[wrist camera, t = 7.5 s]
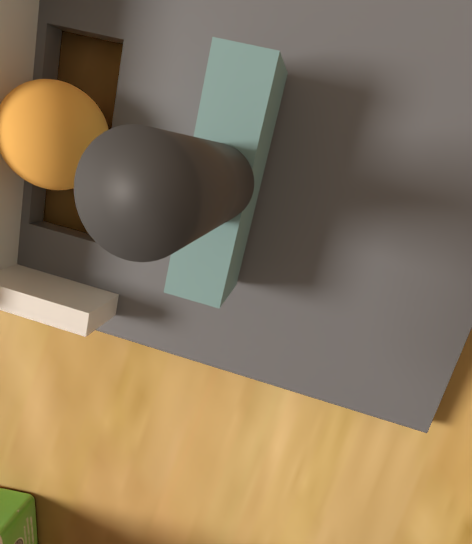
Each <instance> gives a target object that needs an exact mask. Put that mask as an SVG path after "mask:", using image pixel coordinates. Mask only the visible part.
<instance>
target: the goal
mask: <svg viewBox="0 0 472 544" xmlns="http://www.w3.org/2000/svg"><path fill="white" fill-rule="evenodd" d="M38 12H39V0H0V104H1V102H2V101H3V99H4V98H5V96H6V95H7V94H8V93H9V92H10V91H12V90H13V89H14V88H15V87H17V86H19V85H21V84H23V83H25V82H28V81H32V80H33V70H34V59H35V47H36V35H37V23H38ZM23 188H24V179H23V178H21V177H20V176H19V175H17V174H16V173H15V172H14V171H13V170H12V169H11V168H10V167H9V166H8V164H7V163H6V162H5V160H4V159H3V157H2V155H1V153H0V310H2V311H5V312H8V313H11V314H15V315H18V316H21V317H24V318H27V319H31V320H34V321H37V322H40V323H43V324H46V325H50V326H53V327H56V328H59V329H62V330H66V331H69V332H72V333H75V334H78V335H81V336H85V337H86V336H88V335H89V334H90V333H92V332H93V331H94V330H96V329H97V328H99V327H100V326H101V325H103V324H104V323H105V322H107V321H108V320H110V319H111V318H112V317H114V316H115V315H116V309H117V303H118V297H119V294H116V293H112V292H109V291H106V290H102V289H99V288H95V287H92V286H89V285H85V284H82V283H79V282H75V281H72V280H69V279H65V278H62V277H58V276H55V275H52V274H48V273H45V272H42V271H38V270H35V269H32V268H28V267H25V266H21V265H18V264H17V259H18V247H19V235H20V223H21V212H22V200H23Z"/></svg>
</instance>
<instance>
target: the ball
mask: <svg viewBox="0 0 472 544" xmlns="http://www.w3.org/2000/svg"><path fill="white" fill-rule="evenodd" d="M107 130H109V129H108V125H107V122H106V119H105V117H104V115H103V113H102V112H101V110H100V108H99V107H98V105H97V104H96V103H95V102H94V101H93V100H92V99H91V98H90V97H89V96H88V95H87V94H86V93H84V92H83V91H82V90H80V89H79V88H77V87H75V86H73V85H71V84H69V83H66V82H63V81H59V80H54V79H37V80H32V81H28V82H25V83H23V84H21V85H19V86H17V87H15V88H14V89H13V90H12V91H10V92H9V93H8V94H7V95H6V96H5V98H4V99H3V101H2V102H1V104H0V153H1V155H2V157H3V159H4V160H5V162H6V163H7V164H8V166H9V167H10V168H11V169H12V170H13V171H14V172H15V173H16V174H17V175H19V176H20V177H21V178H23V179H24V180H25V181H27V182H29V183H31V184H33V185H35V186H38V187H41V188H45V189H50V190H68V189H73V188H74V178H75V173H76V169H77V166H78V163H79V160H80V158H81V156H82V154H83V153H84V151H85V150H86V148H87V147H88V146H89V144H90V143H91V142H92V141H93V140H94V139H95V138H96V137H98V136H99V135H100V134H102V133H104V132H105V131H107Z"/></svg>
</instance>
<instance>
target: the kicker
mask: <svg viewBox="0 0 472 544" xmlns="http://www.w3.org/2000/svg"><path fill="white" fill-rule="evenodd" d="M287 74H288V72H287V69H286V67H285V64H284V61H283V58H282V55H281V53H280V51H278V50H274V49H269V48H264V47H259V46H254V45H250V44H245V43H240V42H235V41H230V40H226V39H221V38H216V37H212V43H211V48H210V53H209V58H208V63H207V69H206V74H205V79H204V84H203V90H202V95H201V100H200V105H199V110H198V116H197V121H196V126H195V131H194V136H189V135H185V134H180V133H176V132H172V131H167V130H163V129H159V128H154V127H150V126H145V125H139V124H128V125H121V126H117V127H114V128H111V129H109V130H107V131H105V132H104V133H102V134H100V135H99V136H98V137H96V138H95V139H94V140H93V141H92V142H91V143H90V144H89V146H88V147H87V148H86V150H85V151H84V153H83V154H82V156H81V158H80V160H79V163H78V166H77V169H76V173H75V178H74V198H75V204H76V208H77V211H78V215H79V217H80V219H81V222H82V224H83V225H84V227H85V229H86V230H87V232H88V233H89V235H90V236H91V237H92V238H93V239H94V240H95V242H96V243H97V244H99V245H100V246H101V247H102V248H103V249H105V250H106V251H108V252H109V253H111V254H113V255H115V256H116V257H119V258H122V259H124V260H128V261H133V262H152V261H157V260H160V259H163V258H165V257H167V256H169V255H171V256H170V262H169V267H168V272H167V277H166V282H165V288H164V293H167V294H171V295H174V296H178V297H181V298H185V299H188V300H191V301H195V302H198V303H202V304H205V305H209V306H212V307H215V308H220V307H221V306H222V304H223V303H224V301H225V300H226V299H227V297H228V296H229V294H230V293H231V292H232V290H233V289H234V287H235V286H236V285H237V280H238V276H239V272H240V268H241V264H242V260H243V256H244V252H245V247H246V243H247V239H248V235H249V231H250V227H251V223H252V219H253V214H254V210H255V206H256V202H257V198H258V194H259V190H260V186H261V182H262V177H263V173H264V169H265V165H266V161H267V157H268V153H269V149H270V144H271V140H272V136H273V132H274V128H275V124H276V120H277V116H278V111H279V107H280V103H281V99H282V95H283V91H284V87H285V83H286V79H287Z"/></svg>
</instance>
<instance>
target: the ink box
mask: <svg viewBox="0 0 472 544" xmlns="http://www.w3.org/2000/svg"><path fill="white" fill-rule="evenodd" d="M0 544H38V540H37V527H36V510H35V499H34V497H33V496H32V495H31V494H28V493H23V492H18V491H13V490H9V489H3V488H0Z"/></svg>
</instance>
